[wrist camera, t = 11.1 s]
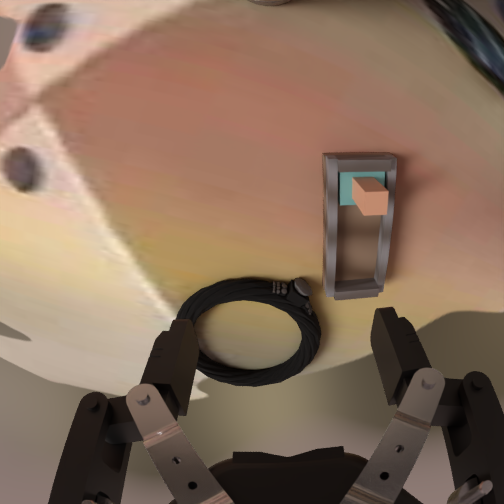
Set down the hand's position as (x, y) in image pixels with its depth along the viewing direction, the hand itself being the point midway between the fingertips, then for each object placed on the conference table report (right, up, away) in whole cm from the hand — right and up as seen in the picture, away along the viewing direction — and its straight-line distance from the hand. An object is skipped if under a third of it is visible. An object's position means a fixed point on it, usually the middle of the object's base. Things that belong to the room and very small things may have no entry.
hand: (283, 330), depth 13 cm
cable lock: (-1, -11, +45) cm, 47 cm away
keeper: (+14, +13, +28) cm, 34 cm away
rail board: (+14, +8, +33) cm, 37 cm away
